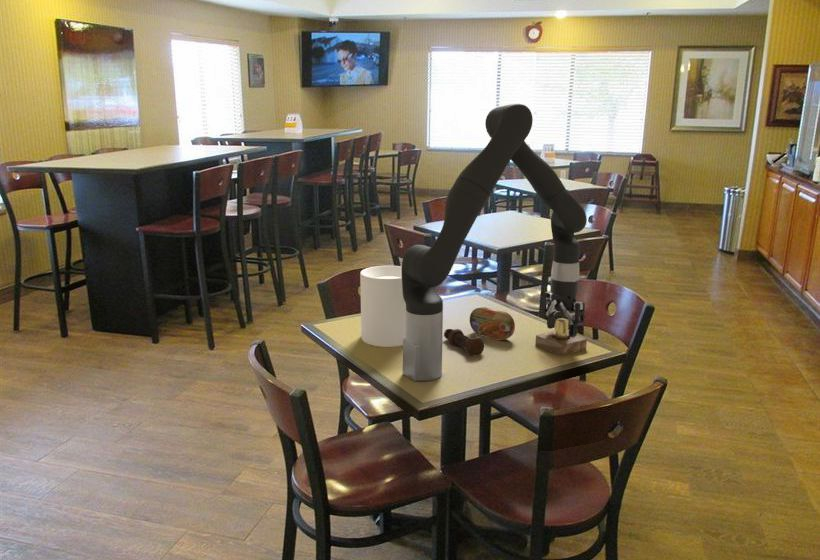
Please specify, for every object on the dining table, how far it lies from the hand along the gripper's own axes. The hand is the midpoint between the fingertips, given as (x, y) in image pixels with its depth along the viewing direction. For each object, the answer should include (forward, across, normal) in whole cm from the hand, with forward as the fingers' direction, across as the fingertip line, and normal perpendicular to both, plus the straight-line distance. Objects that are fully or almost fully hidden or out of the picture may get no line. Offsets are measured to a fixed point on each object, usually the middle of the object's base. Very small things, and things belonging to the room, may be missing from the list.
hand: (561, 332), depth 186 cm
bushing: (+4, 0, 0) cm, 5 cm away
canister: (+5, -32, -38) cm, 50 cm away
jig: (+4, 0, 0) cm, 4 cm away
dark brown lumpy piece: (+5, -15, -24) cm, 29 cm away
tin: (+5, -18, -11) cm, 21 cm away
